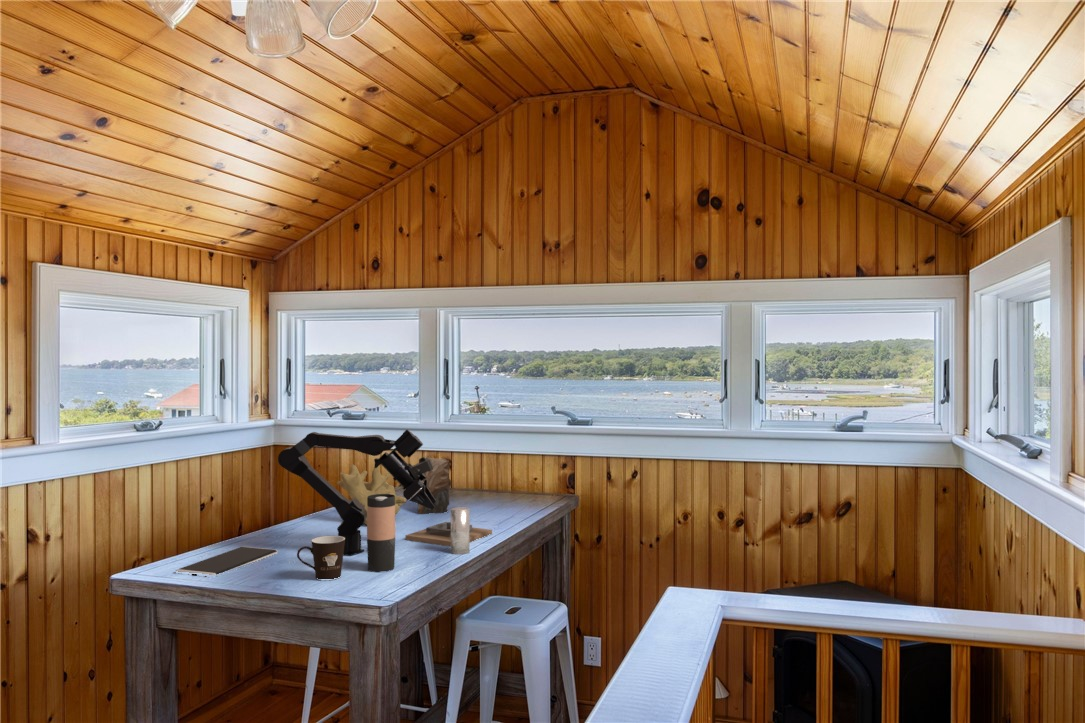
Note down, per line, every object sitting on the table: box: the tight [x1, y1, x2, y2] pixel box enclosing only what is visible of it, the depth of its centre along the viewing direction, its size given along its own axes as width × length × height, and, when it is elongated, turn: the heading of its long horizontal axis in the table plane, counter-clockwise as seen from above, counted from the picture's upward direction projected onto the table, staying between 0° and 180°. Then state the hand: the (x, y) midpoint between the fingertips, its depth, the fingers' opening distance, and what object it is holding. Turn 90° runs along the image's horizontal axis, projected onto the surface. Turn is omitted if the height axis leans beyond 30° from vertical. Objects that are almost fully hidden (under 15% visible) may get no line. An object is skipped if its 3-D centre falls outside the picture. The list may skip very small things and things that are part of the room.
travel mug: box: [366, 494, 396, 573], centre depth 212 cm, size 8×8×20 cm
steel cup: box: [450, 506, 470, 556], centre depth 230 cm, size 6×6×13 cm
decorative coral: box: [336, 464, 407, 526], centre depth 274 cm, size 26×22×25 cm
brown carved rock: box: [417, 456, 452, 515], centre depth 292 cm, size 13×13×20 cm
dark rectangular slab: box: [175, 546, 278, 575], centre depth 217 cm, size 13×27×2 cm, turn 162°
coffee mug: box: [296, 535, 345, 579], centre depth 203 cm, size 12×9×10 cm
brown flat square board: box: [404, 521, 493, 547], centre depth 249 cm, size 20×20×4 cm
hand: (434, 505), depth 232 cm, fingers open, 9 cm apart
